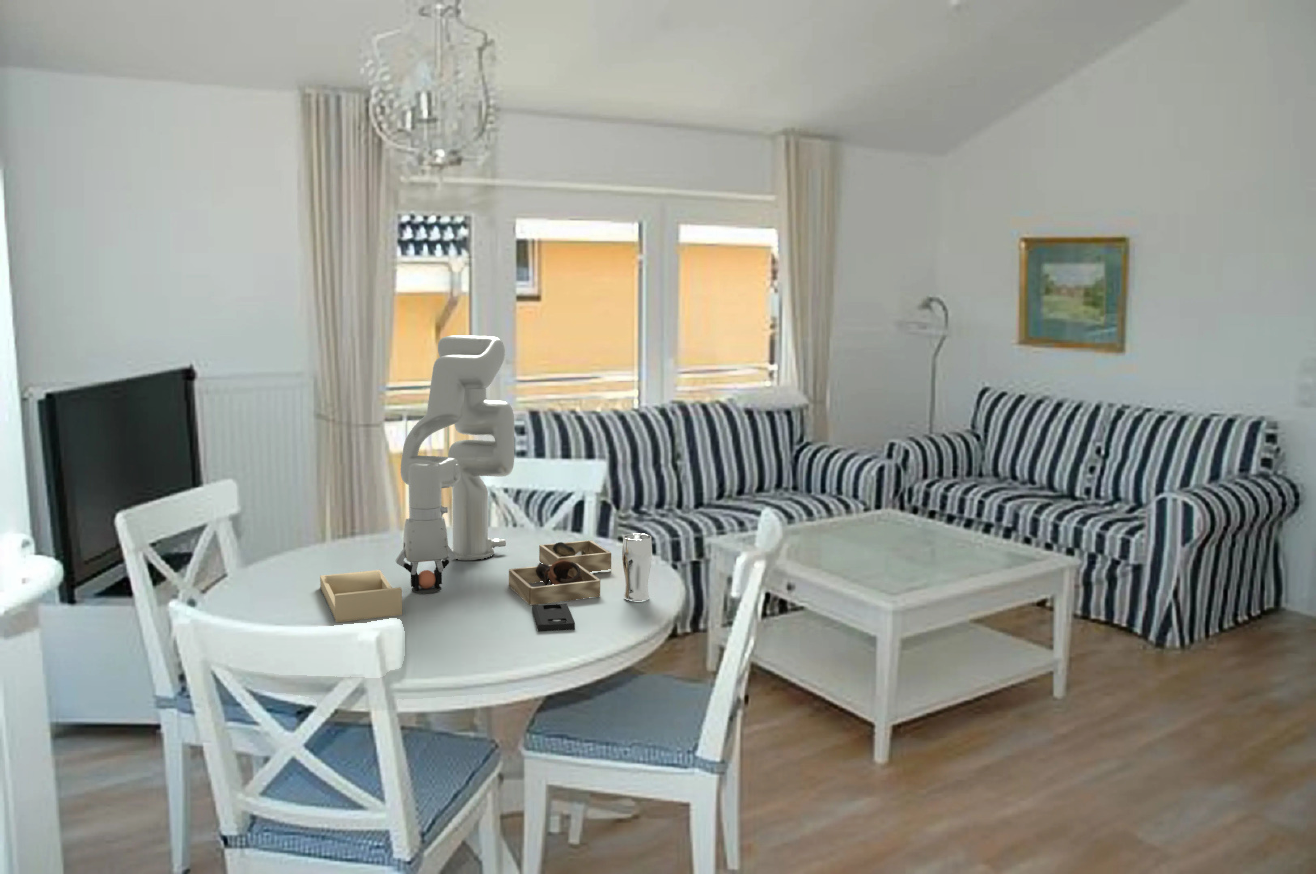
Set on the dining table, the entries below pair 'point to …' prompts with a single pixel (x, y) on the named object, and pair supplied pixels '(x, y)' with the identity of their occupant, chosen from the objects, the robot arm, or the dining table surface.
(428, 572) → the ball
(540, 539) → the dining table surface
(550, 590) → the shallow wooden box
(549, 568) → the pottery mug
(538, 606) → the vhs tape
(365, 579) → the wooden drawer
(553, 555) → the wooden tray
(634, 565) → the beer glass
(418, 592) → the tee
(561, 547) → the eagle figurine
